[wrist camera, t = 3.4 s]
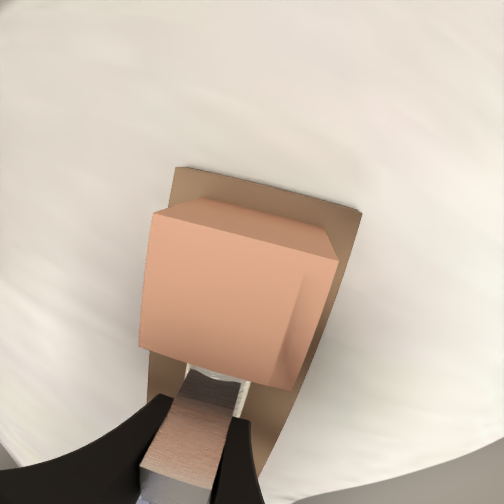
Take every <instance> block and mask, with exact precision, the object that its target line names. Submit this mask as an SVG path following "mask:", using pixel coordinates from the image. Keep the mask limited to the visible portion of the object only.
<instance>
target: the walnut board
mask: <svg viewBox="0 0 504 504" xmlns="http://www.w3.org/2000/svg"><path fill="white" fill-rule="evenodd" d="M199 197H205V198H209V199H213V200H217V201H222V202H226V203H230V204H234V205H238V206H242V207H246V208H250V209H254V210H258V211H262V212H266V213H270V214H274V215H278V216H282V217H285V218H289V219H293V220H297V221H301V222H304V223H308V224H312V225H315V226H319V227H323V228H324V229H325V232H326V234H327V236H328V238H329V240H330V242H331V245H332V247H333V249H334V251H335V253H336V256H337V258H338V260H339V263H338V266H337V269H336V272H335V275H334V278H333V281H332V284H331V287H330V290H329V293H328V296H327V299H326V302H325V305H324V308H323V311H322V313H321V316H320V319H319V322H318V325H317V327H316V330H315V333H314V335H313V338H312V341H311V343H310V346H309V349H308V351H307V354H306V357H305V359H304V362H303V364H302V367H301V369H300V372H299V374H298V377H297V379H296V382H295V384H294V387H293V389H292V391H288V390H283V389H279V388H275V387H270V386H266V385H262V384H258V383H254V382H251V384H250V388H249V391H248V394H247V397H246V400H245V403H244V406H243V409H242V412H241V416H240V418H242V419H246V420H249V421H250V422H251V444H252V452H253V459H254V464H255V469H256V474H257V478H258V477H259V475H260V473H261V471H262V469H263V467H264V465H265V463H266V461H267V459H268V457H269V455H270V453H271V451H272V449H273V447H274V445H275V443H276V441H277V439H278V437H279V435H280V432H281V430H282V428H283V426H284V424H285V422H286V420H287V417H288V415H289V413H290V411H291V409H292V406H293V404H294V402H295V400H296V397H297V395H298V393H299V390H300V388H301V386H302V383H303V381H304V379H305V376H306V374H307V371H308V369H309V367H310V364H311V362H312V359H313V357H314V354H315V352H316V349H317V347H318V344H319V342H320V339H321V336H322V334H323V331H324V328H325V326H326V323H327V320H328V318H329V315H330V312H331V309H332V307H333V304H334V301H335V298H336V295H337V293H338V290H339V287H340V284H341V281H342V278H343V275H344V272H345V269H346V266H347V263H348V260H349V256H350V253H351V250H352V247H353V244H354V240H355V237H356V234H357V231H358V227H359V224H360V220H361V217H362V213H361V212H359V211H358V210H356V209H353V208H349V207H346V206H342V205H339V204H335V203H332V202H328V201H325V200H321V199H317V198H314V197H310V196H306V195H303V194H299V193H295V192H291V191H287V190H283V189H280V188H276V187H272V186H268V185H263V184H259V183H255V182H251V181H247V180H243V179H238V178H234V177H230V176H225V175H221V174H216V173H212V172H207V171H202V170H197V169H193V168H188V167H176V168H175V173H174V178H173V184H172V189H171V194H170V200H169V205H168V208H169V207H172V206H175V205H178V204H181V203H184V202H187V201H190V200H193V199H196V198H199ZM186 366H187V363H185V362H182V361H179V360H176V359H173V358H170V357H167V356H164V355H162V354H159V353H156V352H153V351H150V357H149V372H148V390H147V403H148V402H149V401H150V400H152V399H153V398H154V397H155V396H156V395H157V394H159V393H161V394H164V395H166V396H169V397H172V398H175V397H176V395H177V393H178V391H179V389H180V388H181V386H182V384H183V382H184V379H185V373H186Z"/></svg>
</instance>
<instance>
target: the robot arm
mask: <svg viewBox="0 0 504 504" xmlns="http://www.w3.org/2000/svg"><path fill="white" fill-rule="evenodd" d="M174 399H175V398H172V397H169V396H166V395H164V394H161V393H159V394H157V395H156V396H155V397H154V398H153V399H152V400H150V401H149V402H148V403H147V404H146V405H145V406H144V407H143V408H141V409H140V410H139V411H138V412H136V413H135V414H134V415H133V416H131V417H130V418H129V419H127V420H126V421H125V422H123V423H122V424H121V425H119V426H118V427H116V428H115V429H113V430H112V431H110V432H108V433H107V434H105V435H104V436H102V437H101V438H99V439H97V440H95V441H93V442H92V443H90V444H88V445H86V446H84V447H82V448H80V449H78V450H75V451H73V452H71V453H68V454H66V455H63V456H61V457H58V458H55V459H52V460H49V461H45V462H42V463H38V464H34V465H30V466H26V467H21V468H14V469H7V470H0V504H149V503H148V502H146V501H143V500H141V487H140V469H139V466H140V464H141V462H142V460H143V458H144V456H145V454H146V452H147V450H148V449H149V447H150V445H151V443H152V441H153V439H154V437H155V435H156V433H157V431H158V429H159V428H160V426H161V424H162V422H163V420H164V418H165V417H166V416H167V414H168V412H169V410H170V408H171V406H172V404H173V401H174ZM209 504H265V503H264V500H263V497H262V493H261V490H260V486H259V483H258V479H257V474H256V469H255V464H254V459H253V452H252V444H251V422H250V421H249V420H246V419H242V418H238V417H234V416H232V419H231V421H230V424H229V428H228V431H227V435H226V440H225V444H224V447H223V451H222V454H221V458H220V461H219V465H218V468H217V472H216V475H215V479H214V482H213V485H212V490H211V496H210V501H209Z"/></svg>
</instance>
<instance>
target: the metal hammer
mask: <svg viewBox="0 0 504 504" xmlns="http://www.w3.org/2000/svg"><path fill="white" fill-rule="evenodd" d="M250 384H251V382H250V381H247V380H243V379H239V378H235V377H232V376H228V375H225V374H221V373H218V372H214V371H211V370H208V369H204V368H201V367H198V366H195V365H191V364H188V363H187V366H186V373H185V379H184V382H183V384H182V386H181V388H180V389H179V391H178V393H177V395H176V397H175V399H174V401H173V404H172V406H171V408H170V410H169V412H168V414H167V416H166V417H165V418H164V420H163V422H162V424H161V426H160V428H159V429H158V431H157V433H156V435H155V437H154V439H153V441H152V443H151V445H150V447H149V449H148V450H147V452H146V454H145V456H144V458H143V460H142V462H141V464H140V466H139V469H140V487H141V500H143V501H146V502H148V503H151V504H207V501H208V498H209V495H210V494H211V490H212V485H213V482H214V479H215V475H216V472H217V468H218V465H219V461H220V458H221V454H222V451H223V447H224V444H225V440H226V435H227V431H228V428H229V424H230V421H231V419H232V416H234V417H238V418H240V416H241V412H242V409H243V406H244V403H245V400H246V397H247V394H248V391H249V388H250Z"/></svg>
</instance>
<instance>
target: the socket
mask: <svg viewBox="0 0 504 504" xmlns="http://www.w3.org/2000/svg"><path fill="white" fill-rule="evenodd" d="M338 263H339V260H338V258H337V256H336V253H335V251H334V249H333V247H332V245H331V242H330V240H329V238H328V236H327V234H326V232H325V229H324V228H323V227H319V226H315V225H312V224H308V223H304V222H301V221H297V220H293V219H289V218H285V217H282V216H278V215H274V214H270V213H266V212H262V211H258V210H254V209H250V208H246V207H242V206H238V205H234V204H230V203H226V202H222V201H217V200H213V199H209V198H205V197H199V198H196V199H193V200H190V201H187V202H184V203H181V204H178V205H175V206H172V207H169V208H166V209H163V210H160V211H158V212H155V213H153V216H152V222H151V229H150V236H149V243H148V251H147V259H146V267H145V276H144V285H143V295H142V306H141V318H140V332H139V347H142V348H145V349H148V350H150V351H153V352H156V353H159V354H162V355H164V356H167V357H170V358H173V359H176V360H179V361H182V362H185V363H188V364H191V365H195V366H198V367H201V368H204V369H208V370H211V371H214V372H218V373H221V374H225V375H228V376H232V377H235V378H239V379H243V380H247V381H250V382H254V383H258V384H262V385H266V386H270V387H275V388H279V389H283V390H288V391H292V389H293V387H294V384H295V382H296V379H297V377H298V374H299V372H300V369H301V367H302V364H303V362H304V359H305V357H306V354H307V351H308V349H309V346H310V343H311V341H312V338H313V335H314V333H315V330H316V327H317V325H318V322H319V319H320V316H321V313H322V311H323V308H324V305H325V302H326V299H327V296H328V293H329V290H330V287H331V284H332V281H333V278H334V275H335V272H336V269H337V266H338Z"/></svg>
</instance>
